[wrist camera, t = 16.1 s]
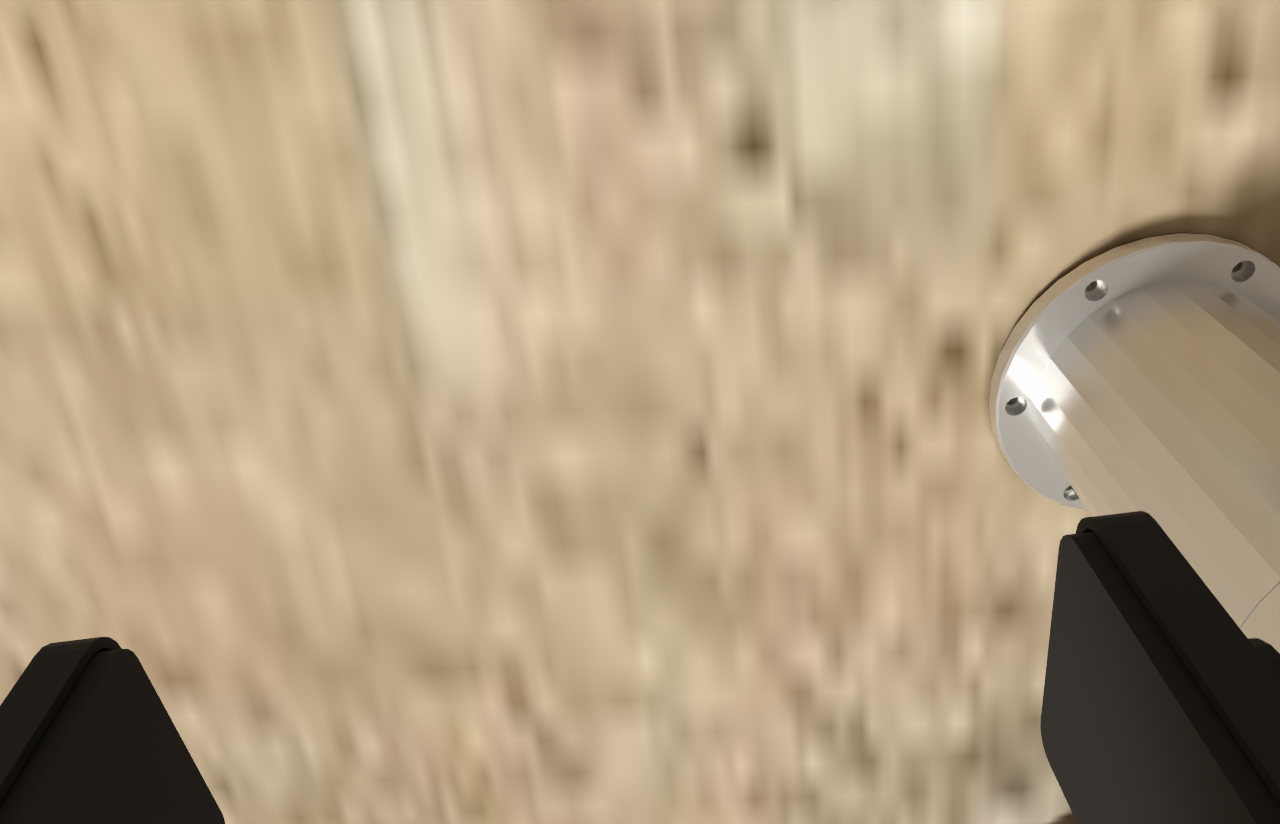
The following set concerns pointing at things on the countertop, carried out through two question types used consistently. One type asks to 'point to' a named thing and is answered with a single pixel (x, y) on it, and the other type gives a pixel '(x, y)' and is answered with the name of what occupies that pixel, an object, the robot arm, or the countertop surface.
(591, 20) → the countertop surface
